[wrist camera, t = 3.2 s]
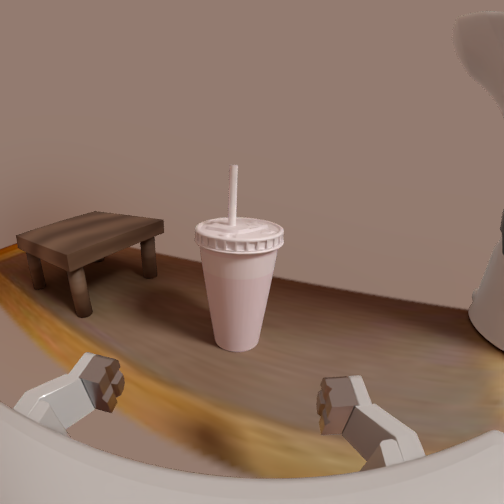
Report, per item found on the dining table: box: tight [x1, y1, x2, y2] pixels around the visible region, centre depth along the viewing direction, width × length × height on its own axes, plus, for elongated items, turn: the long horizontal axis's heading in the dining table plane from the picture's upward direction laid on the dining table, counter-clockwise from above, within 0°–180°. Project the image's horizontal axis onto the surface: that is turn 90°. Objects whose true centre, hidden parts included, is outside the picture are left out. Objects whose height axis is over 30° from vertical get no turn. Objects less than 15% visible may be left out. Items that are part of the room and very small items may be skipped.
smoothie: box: [195, 165, 284, 352], centre depth 21 cm, size 6×6×14 cm
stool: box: [16, 211, 164, 318], centre depth 30 cm, size 14×14×7 cm
